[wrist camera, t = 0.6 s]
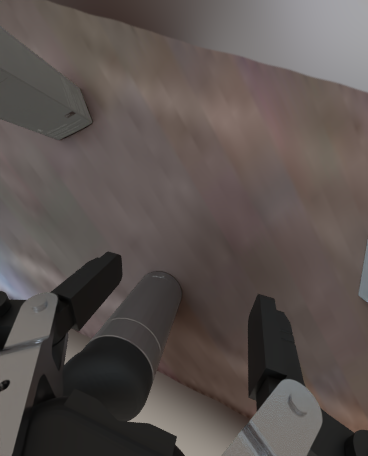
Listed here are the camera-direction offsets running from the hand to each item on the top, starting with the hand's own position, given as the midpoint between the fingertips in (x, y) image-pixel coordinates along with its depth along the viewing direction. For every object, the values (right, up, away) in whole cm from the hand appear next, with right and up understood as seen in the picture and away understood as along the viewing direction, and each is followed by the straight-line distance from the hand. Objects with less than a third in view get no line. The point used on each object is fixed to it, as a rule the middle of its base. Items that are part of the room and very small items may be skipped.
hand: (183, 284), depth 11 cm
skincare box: (-21, +24, +24) cm, 40 cm away
